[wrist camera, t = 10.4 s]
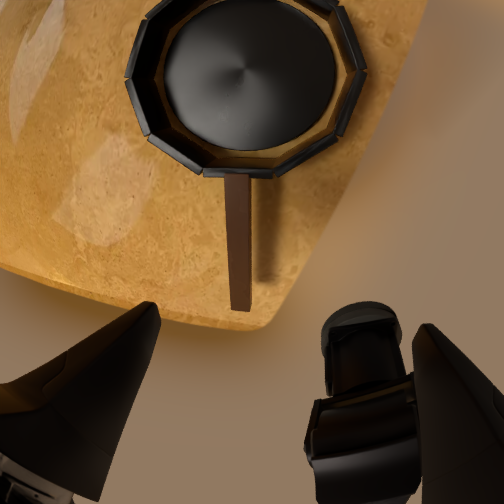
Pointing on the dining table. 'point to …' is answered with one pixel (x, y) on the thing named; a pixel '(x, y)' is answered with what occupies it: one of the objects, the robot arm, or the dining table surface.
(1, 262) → the dining table surface
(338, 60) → the dining table surface
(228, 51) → the frying pan
